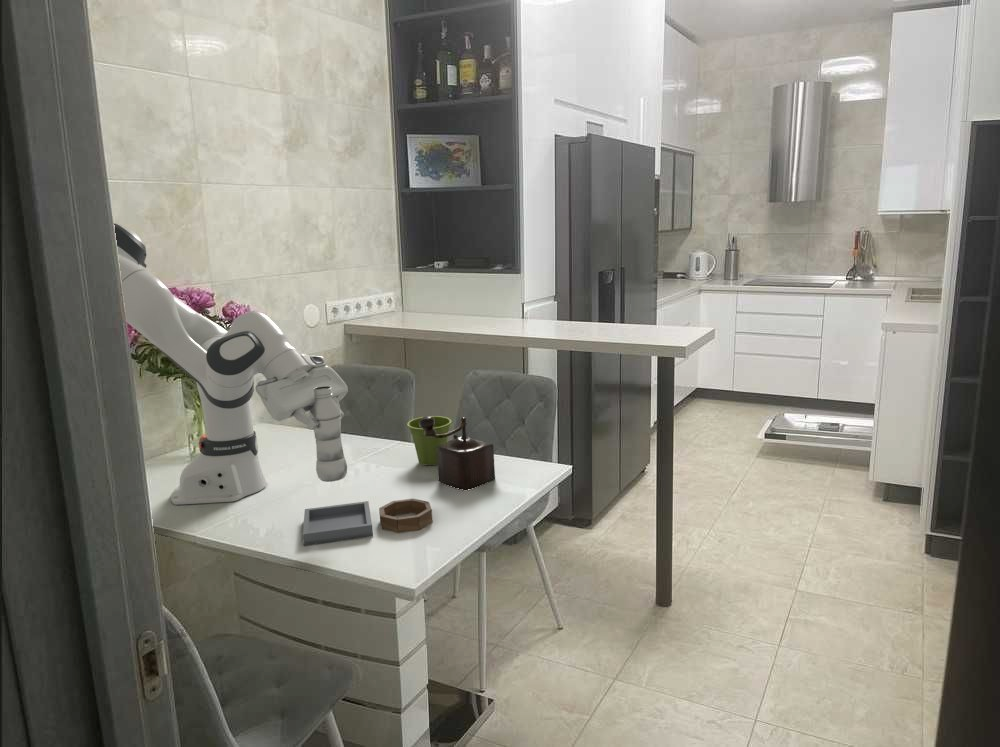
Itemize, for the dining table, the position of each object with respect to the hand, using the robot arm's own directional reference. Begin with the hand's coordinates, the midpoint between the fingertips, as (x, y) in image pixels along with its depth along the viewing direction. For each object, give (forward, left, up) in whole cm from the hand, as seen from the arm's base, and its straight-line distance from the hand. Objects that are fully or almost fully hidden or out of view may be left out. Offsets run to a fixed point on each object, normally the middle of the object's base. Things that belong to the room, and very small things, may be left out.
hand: (328, 422), depth 155 cm
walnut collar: (+14, -1, -24) cm, 28 cm away
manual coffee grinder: (+29, +19, -24) cm, 42 cm away
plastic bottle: (0, 0, -13) cm, 13 cm away
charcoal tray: (0, +1, -24) cm, 24 cm away
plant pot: (+25, +38, -24) cm, 51 cm away
